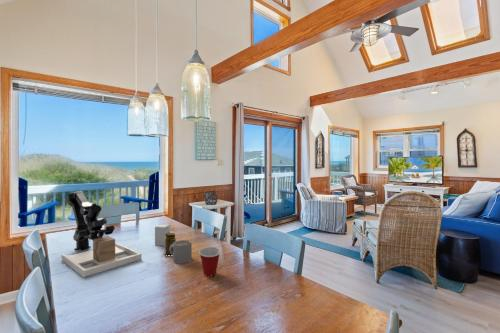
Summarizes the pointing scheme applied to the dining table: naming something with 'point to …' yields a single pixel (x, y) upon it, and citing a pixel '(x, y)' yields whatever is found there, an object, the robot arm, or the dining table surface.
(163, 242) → the supplement box
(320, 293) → the dining table surface
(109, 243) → the walnut block
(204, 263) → the plastic cup
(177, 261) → the coffee mug
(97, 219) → the robot arm
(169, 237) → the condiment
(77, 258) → the white recessed tray
